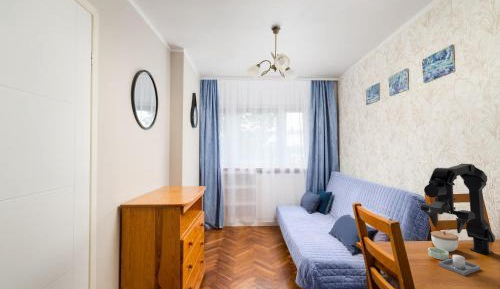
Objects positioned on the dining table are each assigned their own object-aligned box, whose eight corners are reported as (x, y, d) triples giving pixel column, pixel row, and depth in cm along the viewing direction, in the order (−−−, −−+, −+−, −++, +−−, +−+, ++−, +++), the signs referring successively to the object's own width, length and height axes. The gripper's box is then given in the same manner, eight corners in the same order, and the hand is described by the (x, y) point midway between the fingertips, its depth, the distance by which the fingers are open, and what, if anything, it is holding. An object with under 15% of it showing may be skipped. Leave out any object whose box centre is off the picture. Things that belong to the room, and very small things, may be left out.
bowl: (434, 252, 114) (434, 246, 114) (452, 258, 107) (452, 252, 107) (424, 255, 111) (424, 249, 112) (442, 262, 104) (442, 255, 105)
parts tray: (454, 261, 105) (454, 257, 105) (480, 270, 97) (480, 266, 97) (438, 266, 100) (438, 262, 101) (464, 276, 92) (464, 272, 92)
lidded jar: (464, 255, 111) (463, 235, 111) (439, 253, 113) (438, 234, 113) (450, 246, 121) (449, 228, 122) (427, 244, 124) (426, 227, 124)
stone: (456, 264, 101) (455, 254, 101) (467, 268, 98) (467, 257, 98) (450, 266, 100) (450, 255, 100) (462, 270, 96) (461, 259, 96)
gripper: (412, 193, 110) (413, 226, 110) (459, 201, 93) (461, 240, 93) (427, 191, 115) (428, 223, 114) (475, 198, 97) (476, 235, 97)
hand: (446, 230), depth 104 cm, fingers open, 9 cm apart
